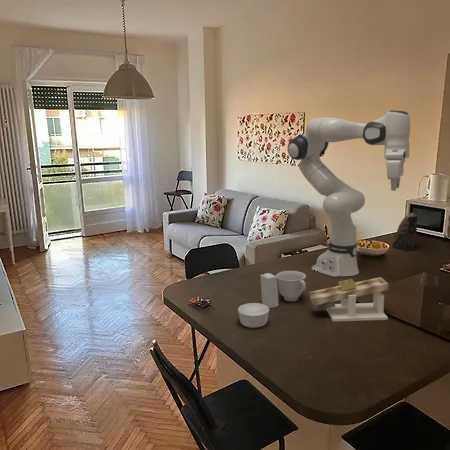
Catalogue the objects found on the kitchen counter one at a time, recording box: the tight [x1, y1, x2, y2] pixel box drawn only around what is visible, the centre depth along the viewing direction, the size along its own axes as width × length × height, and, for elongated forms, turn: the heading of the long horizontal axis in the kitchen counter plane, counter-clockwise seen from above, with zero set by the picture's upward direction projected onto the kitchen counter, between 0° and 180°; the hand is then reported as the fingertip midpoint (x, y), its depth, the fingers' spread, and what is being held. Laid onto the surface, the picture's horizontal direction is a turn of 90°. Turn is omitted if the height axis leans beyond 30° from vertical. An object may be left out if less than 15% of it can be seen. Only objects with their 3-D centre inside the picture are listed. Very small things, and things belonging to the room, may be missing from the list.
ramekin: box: [237, 302, 270, 329], centre depth 145 cm, size 11×11×5 cm
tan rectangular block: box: [337, 278, 356, 292], centre depth 148 cm, size 5×4×4 cm
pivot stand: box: [325, 291, 389, 322], centre depth 149 cm, size 19×13×9 cm
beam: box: [308, 276, 390, 312], centre depth 148 cm, size 27×8×5 cm, turn 90°
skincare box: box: [259, 272, 279, 309], centre depth 160 cm, size 6×4×12 cm
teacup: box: [275, 270, 307, 302], centre depth 164 cm, size 12×15×10 cm
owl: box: [391, 212, 418, 252], centre depth 231 cm, size 13×13×20 cm
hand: (395, 189), depth 161 cm, fingers open, 8 cm apart
